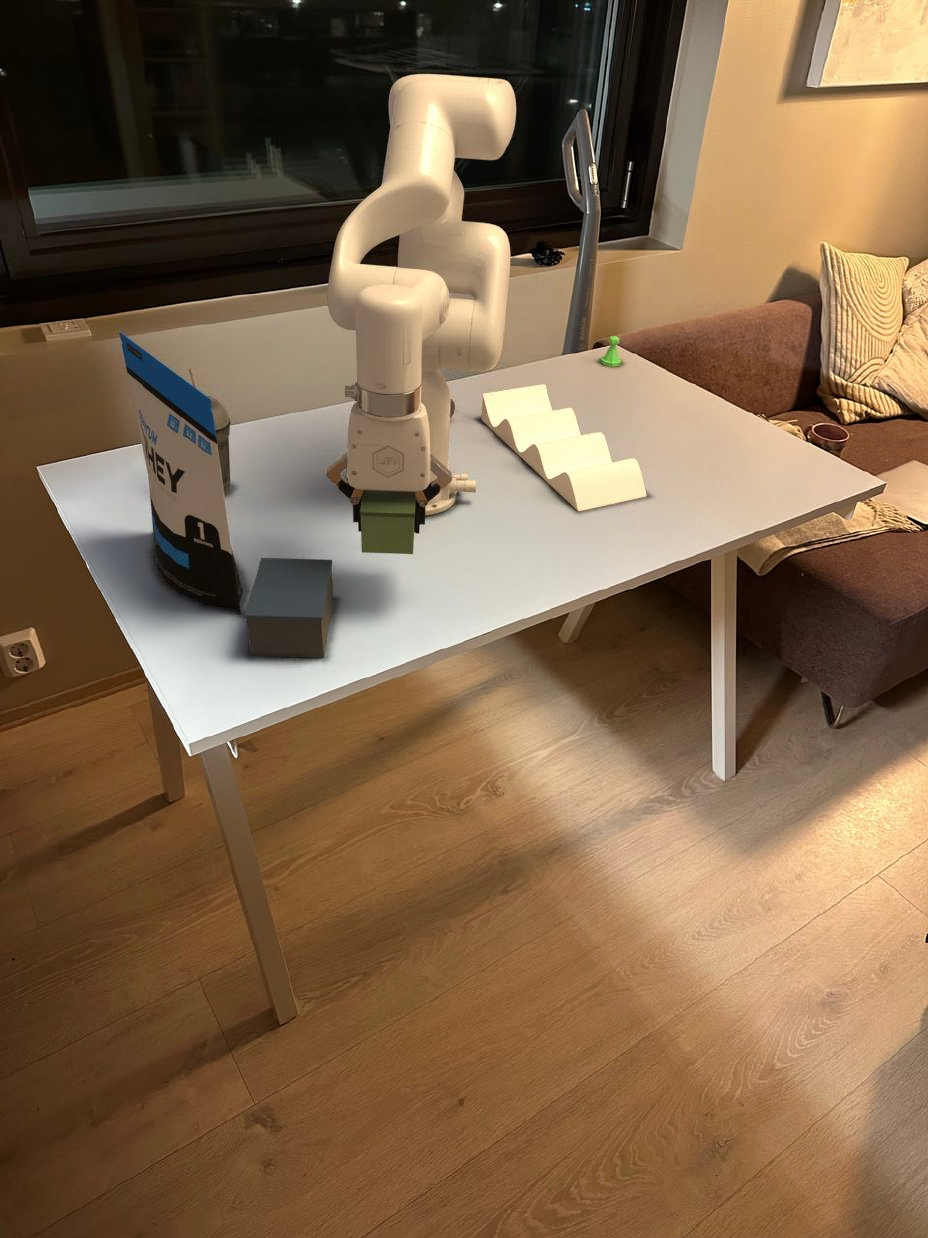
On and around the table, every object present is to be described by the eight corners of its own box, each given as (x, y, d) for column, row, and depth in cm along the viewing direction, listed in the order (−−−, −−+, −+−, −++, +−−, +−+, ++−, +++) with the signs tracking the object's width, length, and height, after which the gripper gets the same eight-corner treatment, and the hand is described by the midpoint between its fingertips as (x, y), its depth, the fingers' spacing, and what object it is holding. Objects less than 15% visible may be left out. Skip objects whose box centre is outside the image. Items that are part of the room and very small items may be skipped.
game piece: (624, 363, 189) (629, 336, 185) (612, 368, 186) (616, 340, 183) (608, 357, 191) (613, 330, 188) (596, 362, 189) (600, 334, 185)
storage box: (265, 597, 118) (261, 557, 114) (334, 599, 119) (332, 559, 115) (249, 656, 109) (244, 615, 105) (324, 658, 109) (321, 617, 105)
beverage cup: (228, 504, 136) (210, 381, 124) (184, 497, 137) (162, 375, 125) (246, 481, 142) (231, 362, 130) (204, 475, 143) (185, 356, 130)
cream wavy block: (578, 511, 140) (582, 483, 136) (481, 419, 164) (482, 393, 161) (646, 496, 144) (652, 468, 141) (542, 409, 169) (545, 383, 166)
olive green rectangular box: (366, 512, 119) (365, 472, 115) (416, 513, 119) (416, 474, 116) (360, 553, 111) (359, 511, 107) (413, 554, 111) (414, 513, 107)
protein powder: (189, 522, 132) (154, 324, 113) (272, 601, 118) (249, 389, 99) (128, 542, 127) (81, 339, 108) (207, 627, 113) (169, 409, 94)
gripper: (311, 407, 100) (319, 540, 111) (463, 413, 101) (456, 544, 112) (319, 381, 106) (325, 510, 117) (462, 387, 107) (455, 514, 118)
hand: (389, 526), depth 114 cm, fingers closed on olive green rectangular box, 6 cm apart
